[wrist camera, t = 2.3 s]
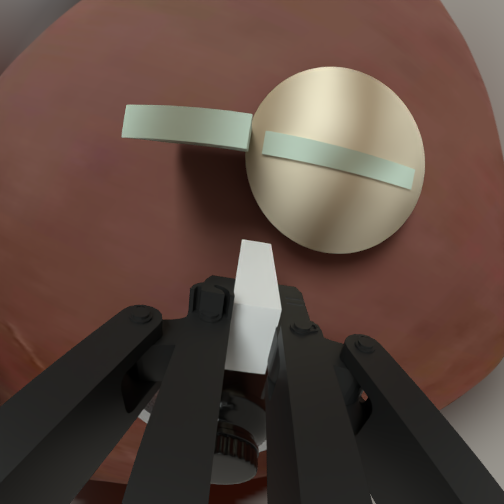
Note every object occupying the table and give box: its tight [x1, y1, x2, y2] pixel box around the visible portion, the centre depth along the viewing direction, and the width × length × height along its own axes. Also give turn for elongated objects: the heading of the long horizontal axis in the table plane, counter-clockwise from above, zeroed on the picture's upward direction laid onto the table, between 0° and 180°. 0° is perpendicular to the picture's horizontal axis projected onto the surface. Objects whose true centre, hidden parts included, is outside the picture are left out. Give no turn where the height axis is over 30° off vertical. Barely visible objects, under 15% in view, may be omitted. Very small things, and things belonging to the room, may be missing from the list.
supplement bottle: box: [210, 365, 268, 485], centre depth 18 cm, size 7×7×12 cm
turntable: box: [122, 67, 425, 254], centre depth 14 cm, size 17×12×7 cm
